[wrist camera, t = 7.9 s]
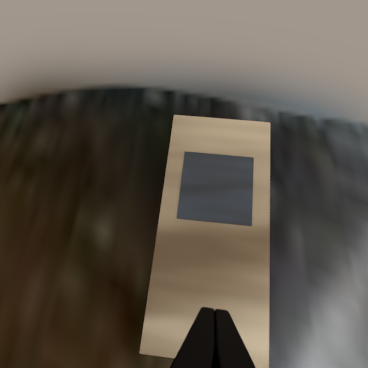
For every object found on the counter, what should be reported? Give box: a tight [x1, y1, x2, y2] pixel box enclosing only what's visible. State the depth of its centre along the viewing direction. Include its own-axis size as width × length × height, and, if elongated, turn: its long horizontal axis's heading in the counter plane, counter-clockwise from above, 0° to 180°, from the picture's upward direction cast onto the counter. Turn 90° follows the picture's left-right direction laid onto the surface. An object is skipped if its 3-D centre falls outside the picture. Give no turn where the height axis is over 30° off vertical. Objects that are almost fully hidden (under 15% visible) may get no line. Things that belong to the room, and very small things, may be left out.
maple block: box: [139, 115, 270, 368], centre depth 15 cm, size 5×5×11 cm
